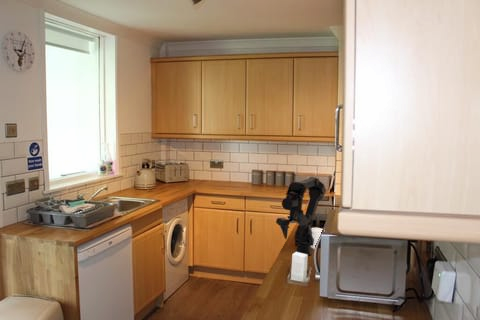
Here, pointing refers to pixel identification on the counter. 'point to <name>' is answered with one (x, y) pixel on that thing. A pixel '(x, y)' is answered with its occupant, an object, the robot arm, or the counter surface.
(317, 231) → the white cup
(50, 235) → the counter surface
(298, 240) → the robot arm
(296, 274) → the skincare box
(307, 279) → the wooden divided tray
